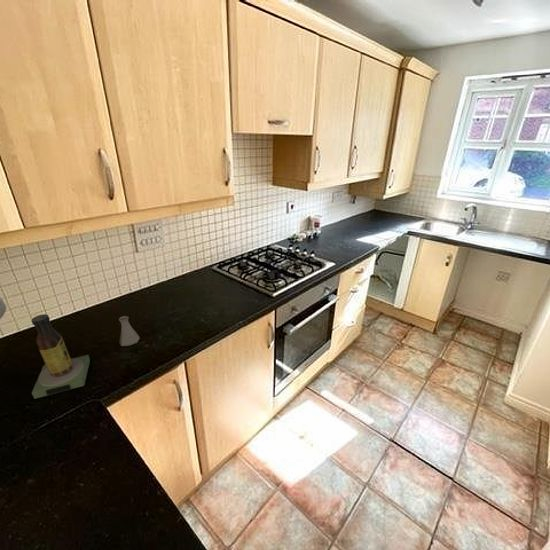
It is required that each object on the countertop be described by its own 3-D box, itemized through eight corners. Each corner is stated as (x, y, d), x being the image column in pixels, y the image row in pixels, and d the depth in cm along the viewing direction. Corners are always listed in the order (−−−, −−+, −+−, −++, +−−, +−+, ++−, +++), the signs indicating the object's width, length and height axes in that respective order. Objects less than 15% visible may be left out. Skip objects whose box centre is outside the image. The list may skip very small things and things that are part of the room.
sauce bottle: (76, 370, 96) (56, 317, 87) (53, 381, 91) (30, 326, 83) (69, 361, 100) (49, 309, 91) (47, 371, 95) (24, 318, 87)
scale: (33, 400, 89) (30, 392, 87) (46, 370, 100) (42, 363, 99) (83, 386, 93) (81, 379, 92) (90, 360, 104) (87, 353, 103)
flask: (140, 333, 118) (134, 311, 114) (139, 343, 112) (133, 321, 108) (120, 337, 116) (113, 315, 112) (118, 348, 110) (111, 325, 106)
